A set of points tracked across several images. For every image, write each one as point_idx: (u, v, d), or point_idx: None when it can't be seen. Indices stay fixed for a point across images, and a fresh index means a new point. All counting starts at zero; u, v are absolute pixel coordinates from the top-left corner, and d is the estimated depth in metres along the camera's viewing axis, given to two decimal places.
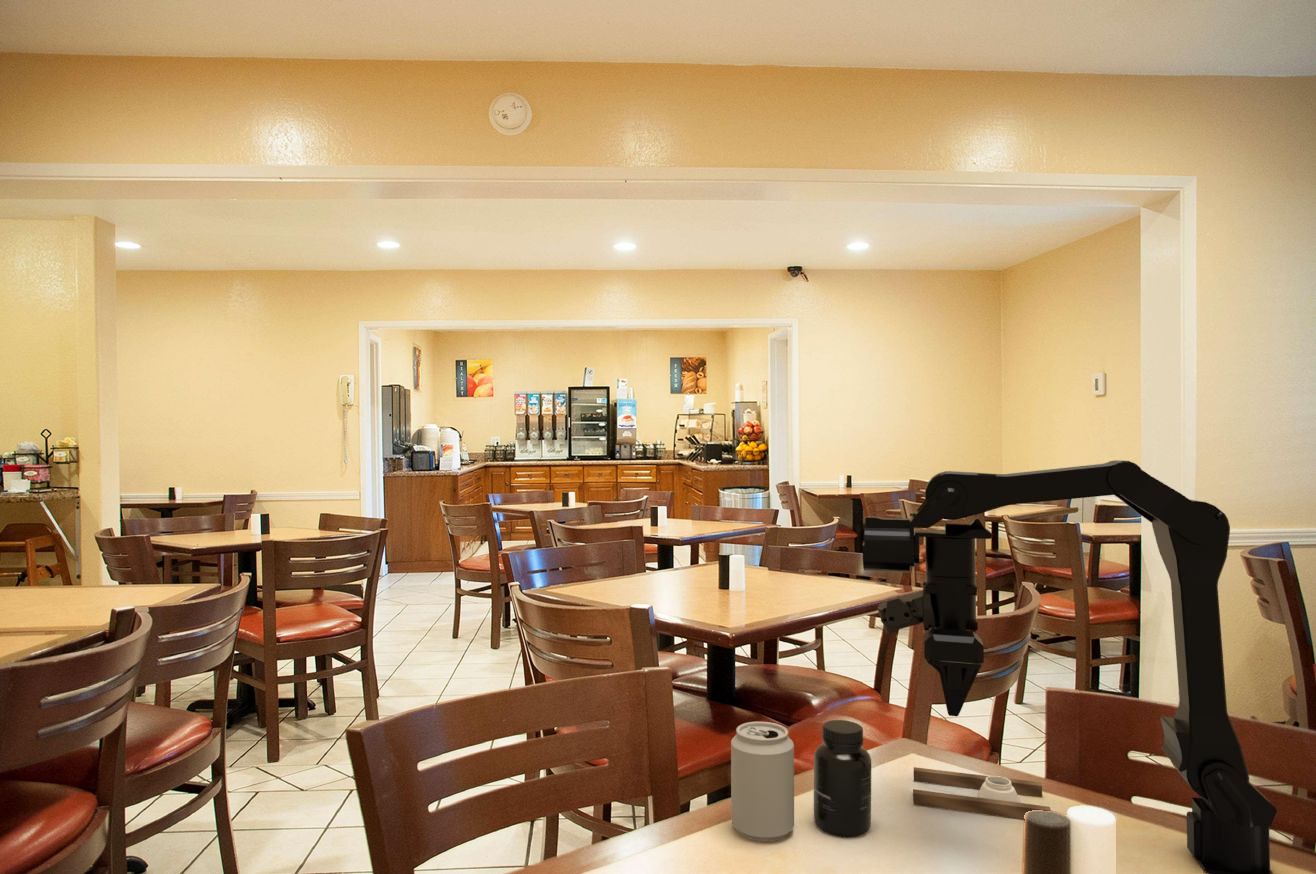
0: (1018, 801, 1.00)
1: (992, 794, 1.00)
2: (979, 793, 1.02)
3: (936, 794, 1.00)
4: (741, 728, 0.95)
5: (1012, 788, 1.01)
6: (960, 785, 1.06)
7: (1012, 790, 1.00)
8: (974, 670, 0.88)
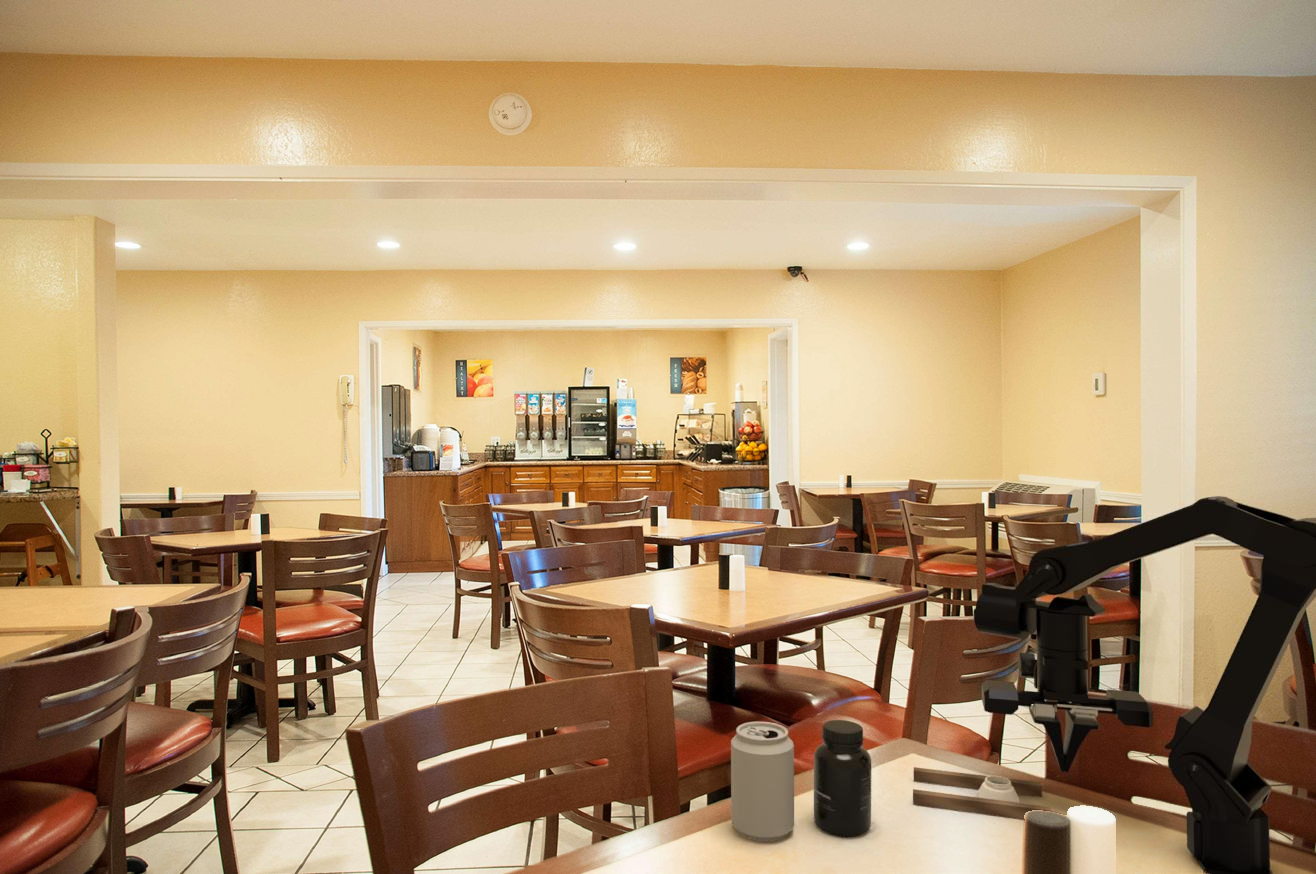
0: (1017, 801, 1.00)
1: (992, 794, 1.00)
2: (979, 793, 1.02)
3: (936, 794, 1.00)
4: (741, 728, 0.95)
5: (1012, 788, 1.01)
6: (960, 785, 1.06)
7: (1012, 790, 1.00)
8: None
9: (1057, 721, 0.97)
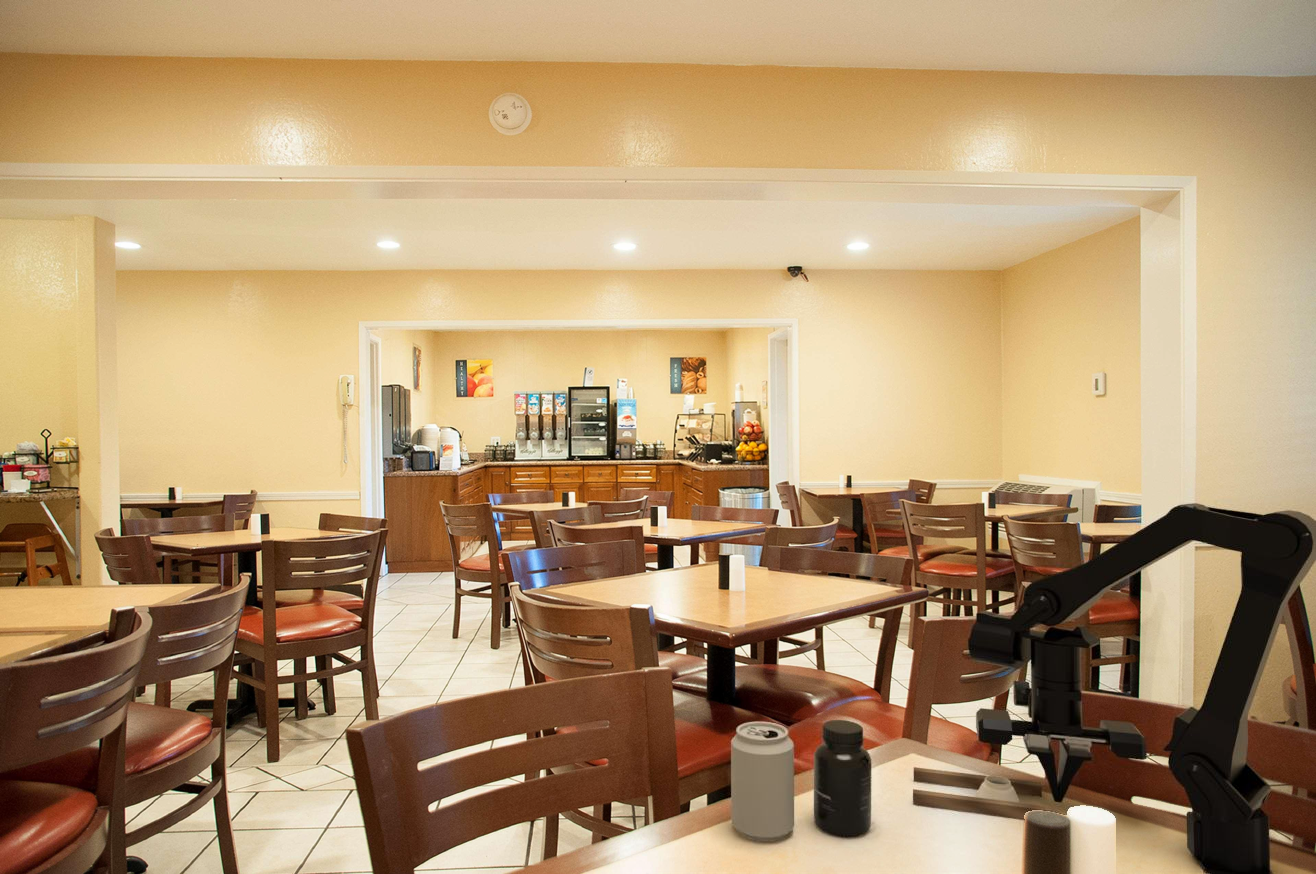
0: (1017, 801, 1.00)
1: (992, 794, 1.00)
2: (978, 793, 1.02)
3: (936, 794, 1.00)
4: (741, 728, 0.95)
5: (1011, 788, 1.01)
6: (960, 785, 1.06)
7: (1011, 790, 1.00)
8: None
9: (1051, 752, 0.97)
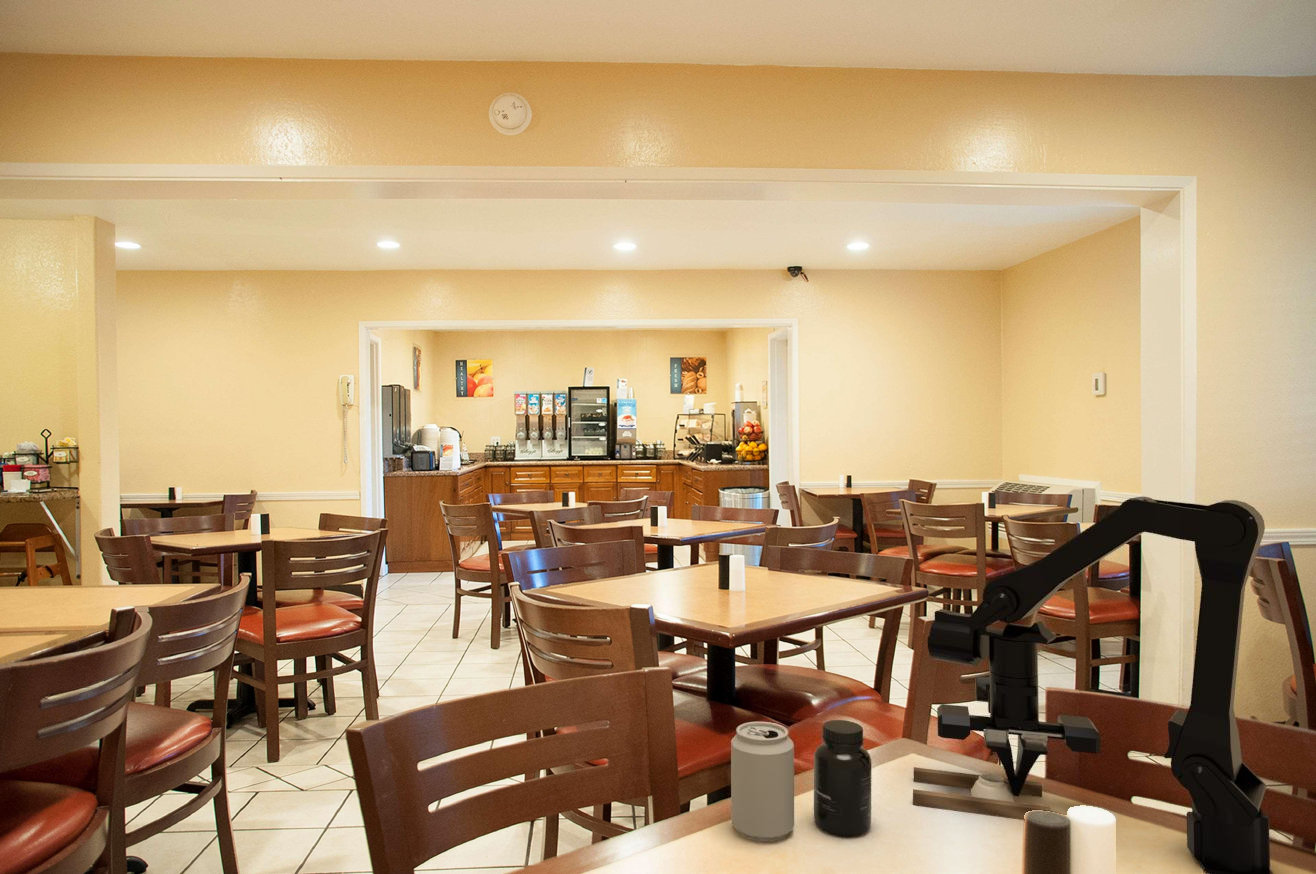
0: (1011, 798, 1.00)
1: (985, 792, 1.00)
2: (972, 790, 1.02)
3: (936, 794, 1.00)
4: (741, 728, 0.95)
5: (1005, 785, 1.01)
6: (960, 785, 1.06)
7: (1005, 787, 1.00)
8: None
9: (1008, 747, 0.99)
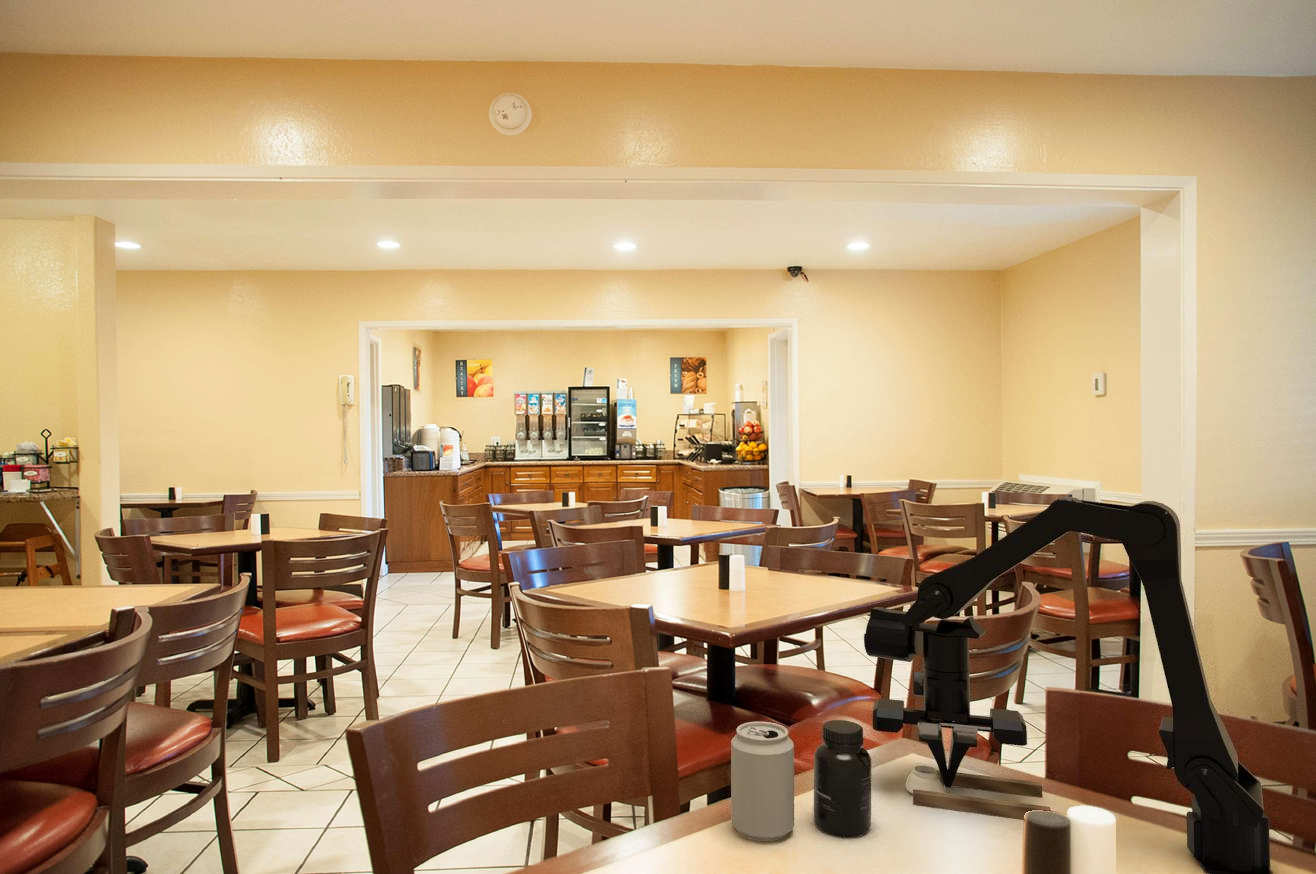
0: (943, 790, 1.03)
1: (918, 783, 1.03)
2: (906, 782, 1.05)
3: (936, 794, 1.00)
4: (741, 728, 0.95)
5: (938, 777, 1.03)
6: (960, 785, 1.06)
7: (937, 779, 1.03)
8: None
9: (939, 739, 1.01)
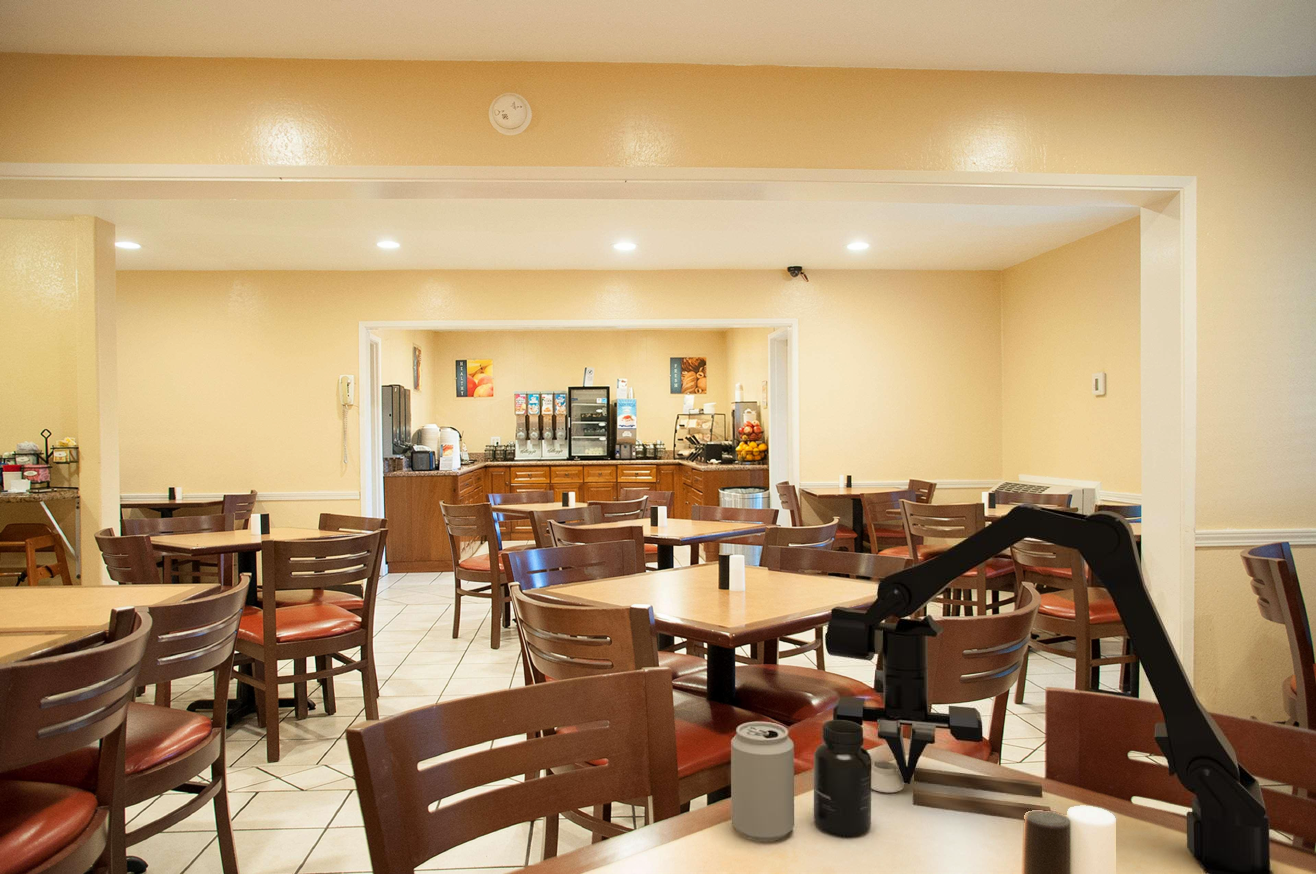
0: (901, 785, 1.04)
1: (876, 778, 1.04)
2: None
3: (936, 794, 1.00)
4: (741, 728, 0.95)
5: (896, 772, 1.05)
6: (960, 785, 1.06)
7: (896, 774, 1.05)
8: None
9: (898, 736, 1.03)
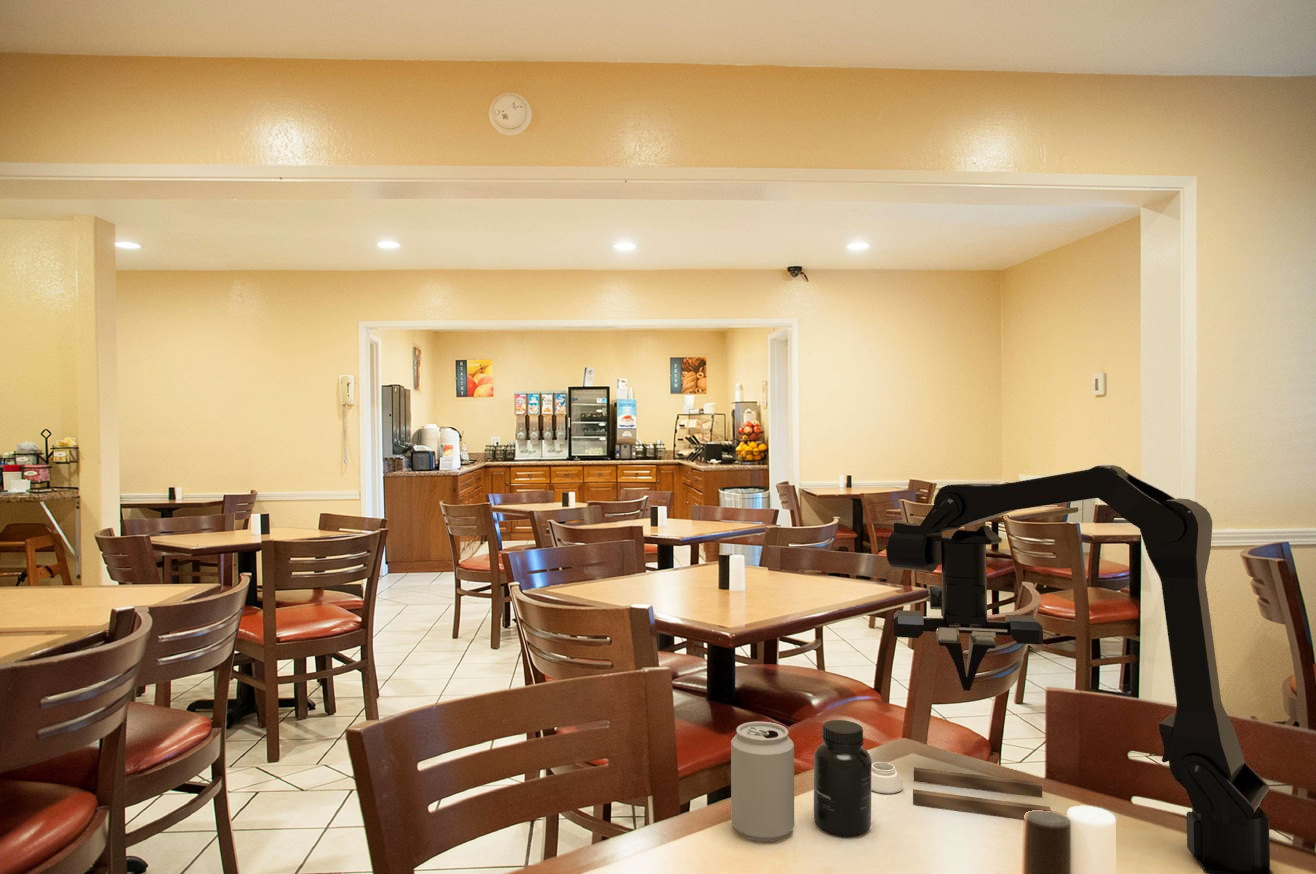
0: (900, 786, 1.04)
1: (875, 779, 1.04)
2: None
3: (936, 794, 1.00)
4: (741, 728, 0.95)
5: (895, 773, 1.05)
6: (960, 785, 1.06)
7: (895, 775, 1.05)
8: None
9: (958, 642, 1.05)
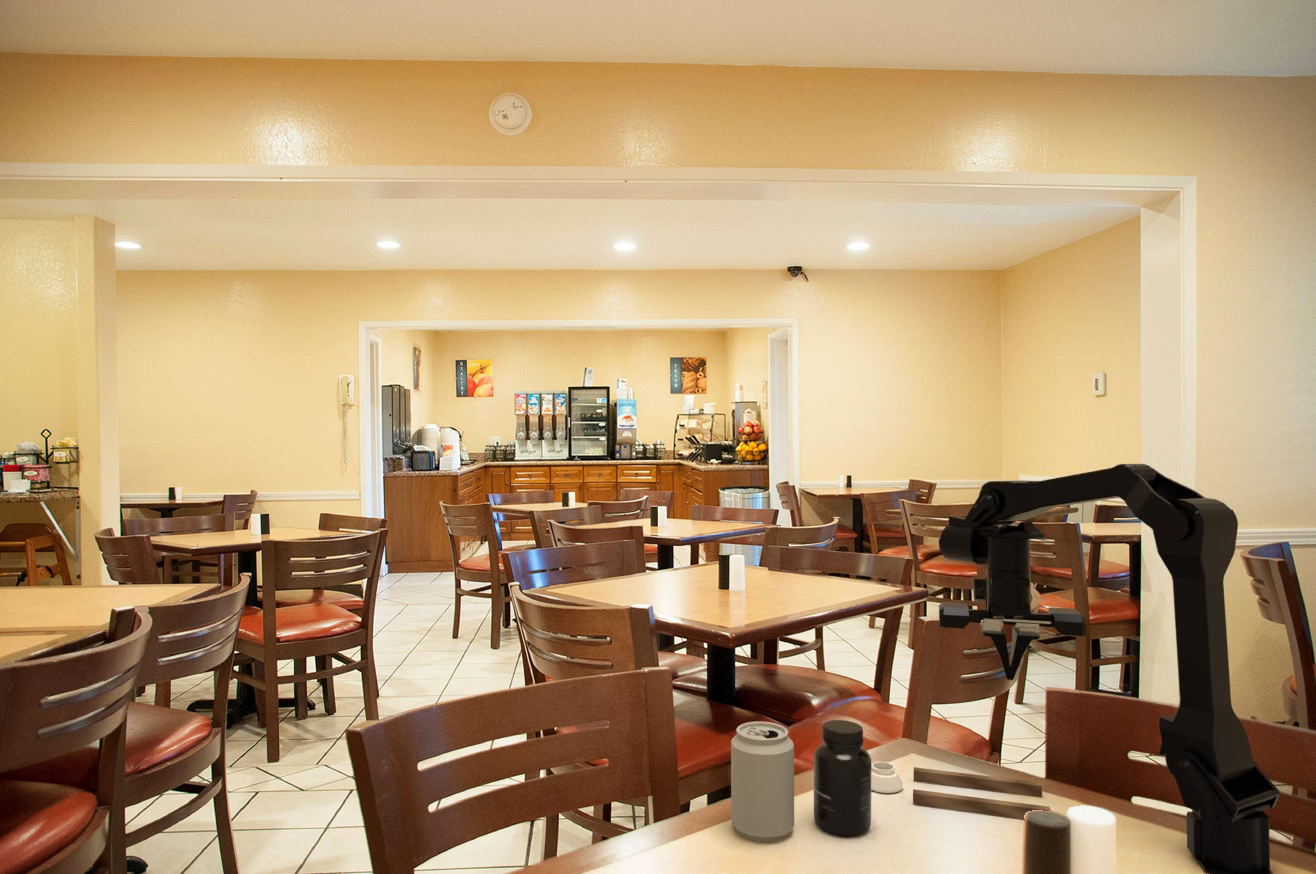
0: (900, 785, 1.04)
1: (875, 779, 1.05)
2: None
3: (936, 794, 1.00)
4: (741, 728, 0.95)
5: (895, 773, 1.05)
6: (960, 785, 1.06)
7: (894, 775, 1.05)
8: None
9: (1003, 633, 1.09)
